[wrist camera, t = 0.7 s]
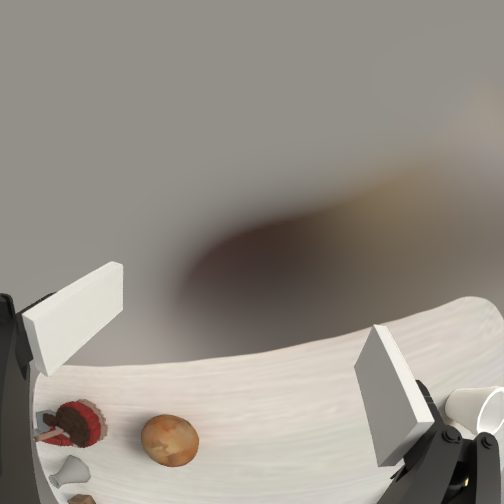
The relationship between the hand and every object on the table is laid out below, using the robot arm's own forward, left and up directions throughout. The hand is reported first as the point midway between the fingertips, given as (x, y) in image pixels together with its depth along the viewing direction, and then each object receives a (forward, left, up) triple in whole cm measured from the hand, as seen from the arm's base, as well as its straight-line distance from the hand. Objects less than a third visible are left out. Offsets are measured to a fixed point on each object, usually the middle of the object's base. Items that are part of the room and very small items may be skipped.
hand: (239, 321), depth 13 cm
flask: (-28, +48, -34) cm, 65 cm away
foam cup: (-28, -35, -34) cm, 56 cm away
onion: (-17, +19, -34) cm, 42 cm away
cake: (-14, +38, -34) cm, 53 cm away
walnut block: (-39, +50, -34) cm, 71 cm away
